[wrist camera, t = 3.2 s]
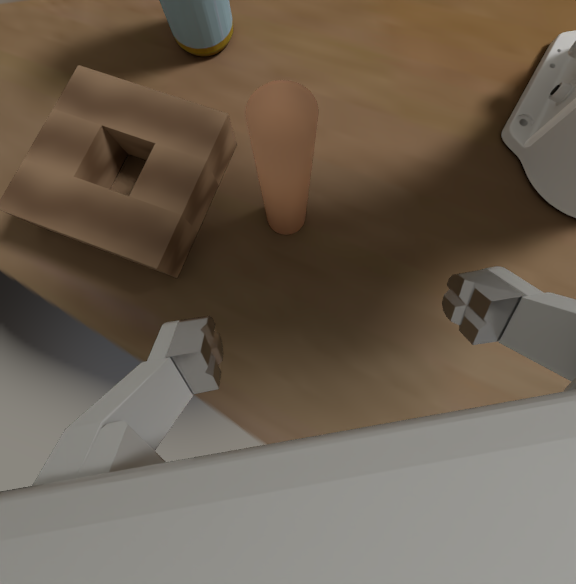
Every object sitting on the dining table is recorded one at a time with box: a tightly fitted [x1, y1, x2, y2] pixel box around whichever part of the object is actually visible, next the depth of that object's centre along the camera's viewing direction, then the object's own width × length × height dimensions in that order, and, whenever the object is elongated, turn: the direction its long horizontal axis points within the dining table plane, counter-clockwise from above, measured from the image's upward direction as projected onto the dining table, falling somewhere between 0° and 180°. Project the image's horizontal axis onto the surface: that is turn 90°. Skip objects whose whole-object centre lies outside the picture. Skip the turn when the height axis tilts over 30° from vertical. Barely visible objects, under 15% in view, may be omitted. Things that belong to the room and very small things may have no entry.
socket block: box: [0, 65, 237, 278], centre depth 26 cm, size 16×16×4 cm
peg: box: [245, 80, 318, 235], centre depth 21 cm, size 4×4×13 cm
